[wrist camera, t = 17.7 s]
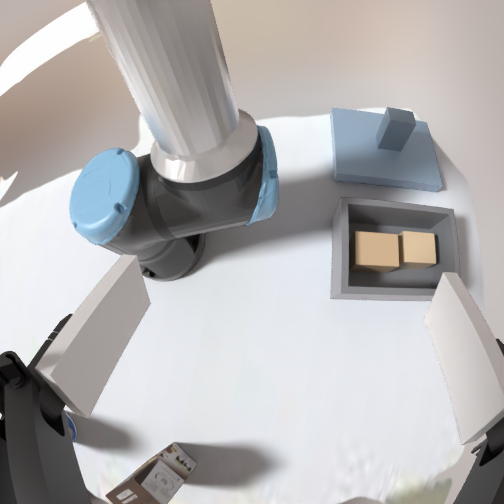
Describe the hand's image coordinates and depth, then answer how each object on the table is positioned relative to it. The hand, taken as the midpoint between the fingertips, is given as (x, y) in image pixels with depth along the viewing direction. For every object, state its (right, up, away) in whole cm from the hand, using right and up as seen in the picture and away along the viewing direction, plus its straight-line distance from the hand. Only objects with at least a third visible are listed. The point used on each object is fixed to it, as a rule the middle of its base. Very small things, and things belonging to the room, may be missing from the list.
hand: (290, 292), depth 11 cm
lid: (+25, +22, +39) cm, 52 cm away
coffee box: (-17, -38, +30) cm, 51 cm away
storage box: (+22, 0, +34) cm, 41 cm away
